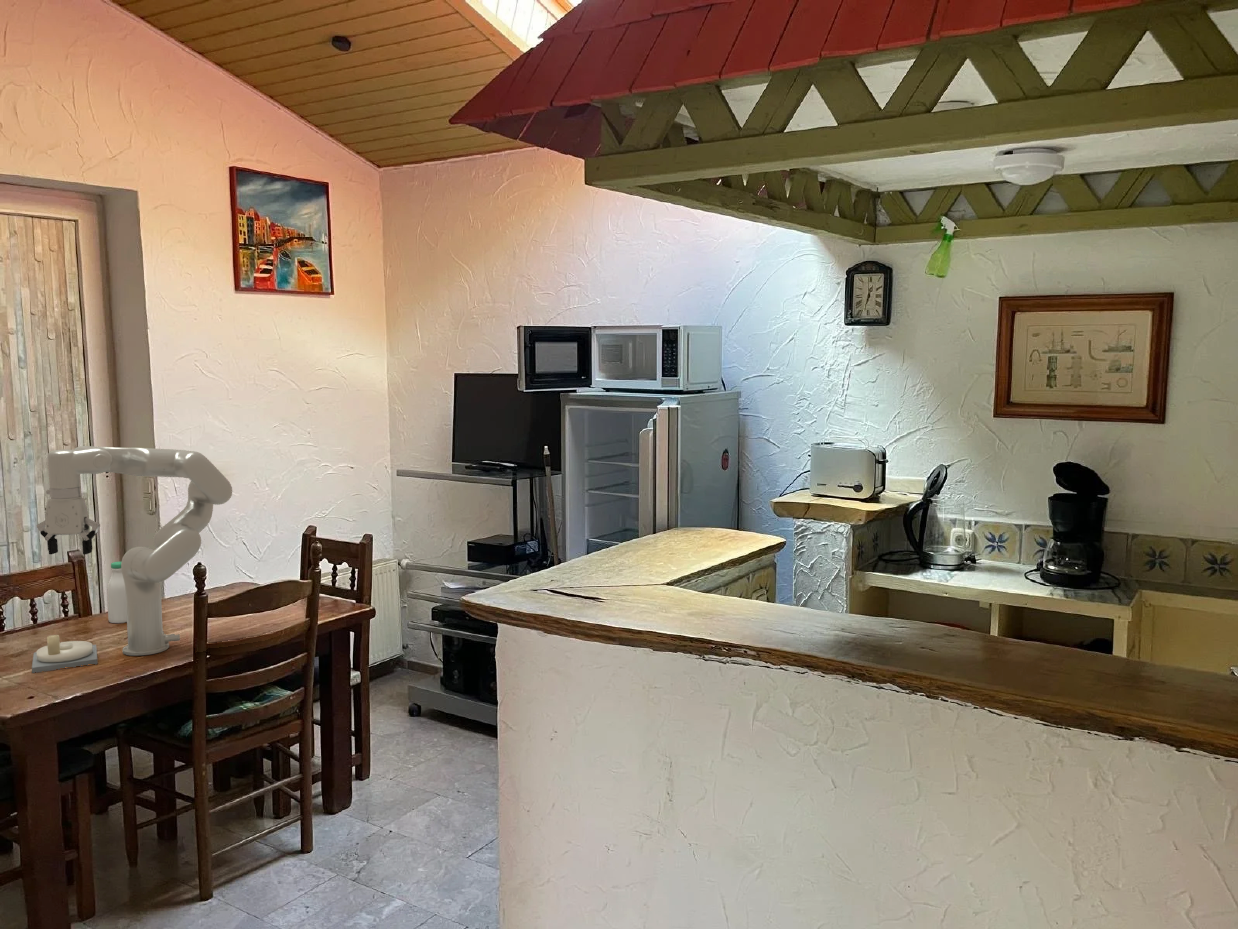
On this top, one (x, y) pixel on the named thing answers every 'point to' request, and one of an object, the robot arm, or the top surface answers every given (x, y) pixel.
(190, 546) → the robot arm
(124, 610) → the milk bottle
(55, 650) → the dial
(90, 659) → the base board
